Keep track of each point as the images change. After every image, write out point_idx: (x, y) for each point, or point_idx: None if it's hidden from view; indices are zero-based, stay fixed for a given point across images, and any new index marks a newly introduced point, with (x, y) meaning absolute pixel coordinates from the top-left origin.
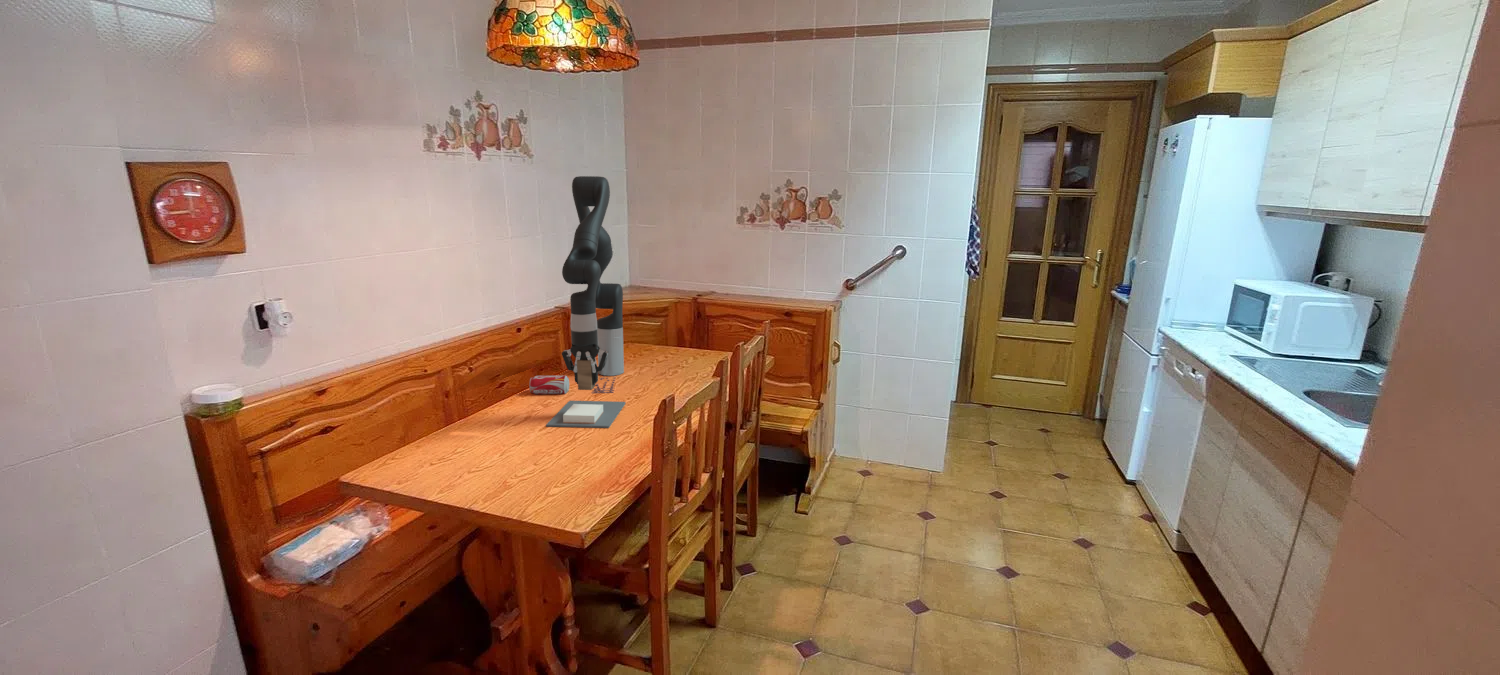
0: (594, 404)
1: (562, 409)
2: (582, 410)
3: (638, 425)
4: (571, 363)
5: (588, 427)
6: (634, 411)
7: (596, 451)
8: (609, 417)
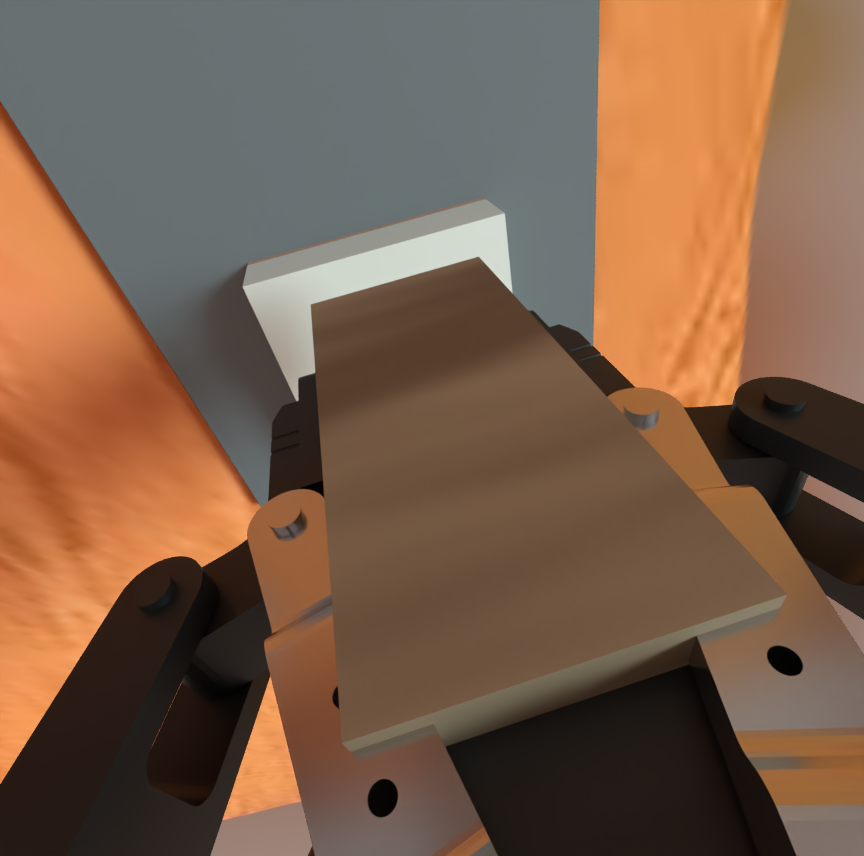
0: (430, 236)
1: (113, 251)
2: None
3: (732, 313)
4: (163, 684)
5: None
6: (705, 34)
7: None
8: (561, 288)
